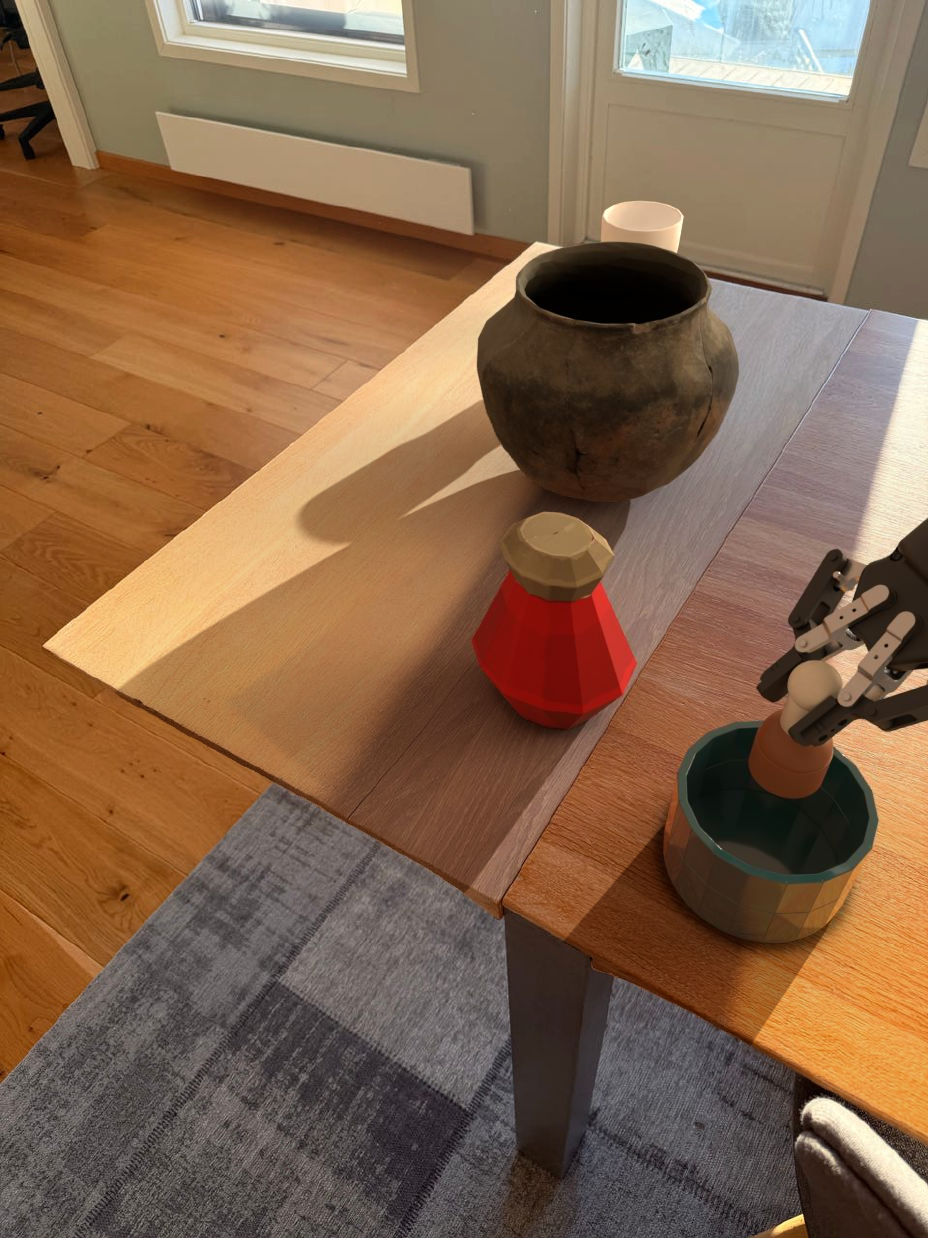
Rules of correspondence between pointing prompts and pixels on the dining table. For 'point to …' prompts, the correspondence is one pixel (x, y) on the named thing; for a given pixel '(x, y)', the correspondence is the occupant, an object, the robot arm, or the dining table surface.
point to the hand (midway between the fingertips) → (781, 716)
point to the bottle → (554, 624)
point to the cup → (643, 224)
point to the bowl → (764, 841)
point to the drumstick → (774, 750)
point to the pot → (607, 369)
